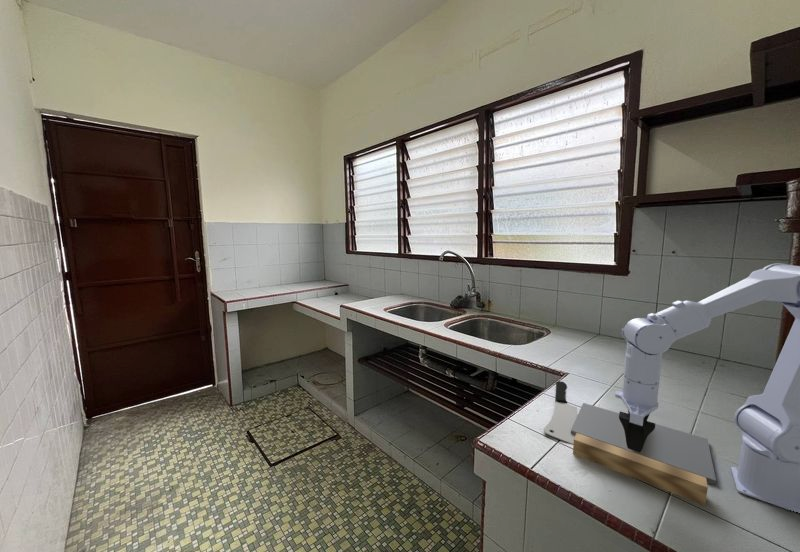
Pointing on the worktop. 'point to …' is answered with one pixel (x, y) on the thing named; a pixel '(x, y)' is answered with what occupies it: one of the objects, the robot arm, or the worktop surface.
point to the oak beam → (642, 468)
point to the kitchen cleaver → (562, 416)
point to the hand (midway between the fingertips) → (635, 439)
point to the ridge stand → (649, 441)
